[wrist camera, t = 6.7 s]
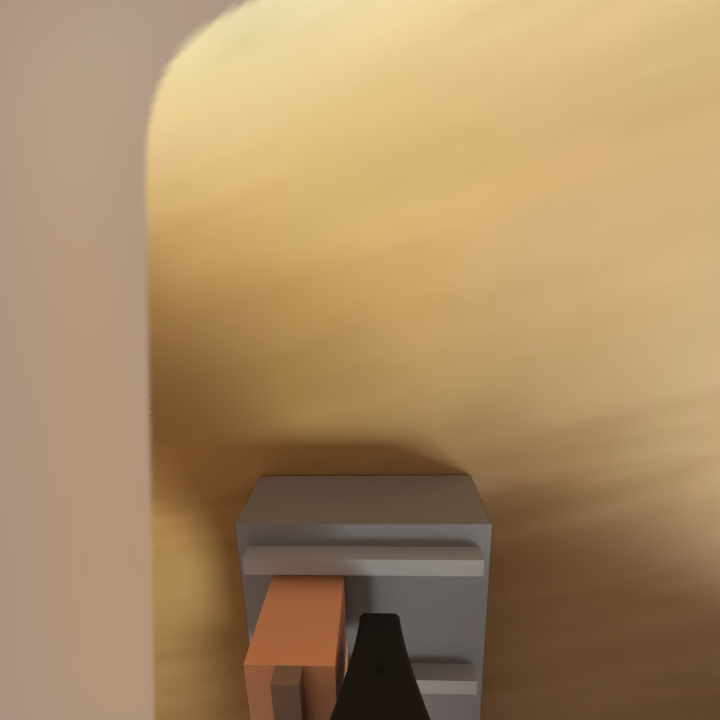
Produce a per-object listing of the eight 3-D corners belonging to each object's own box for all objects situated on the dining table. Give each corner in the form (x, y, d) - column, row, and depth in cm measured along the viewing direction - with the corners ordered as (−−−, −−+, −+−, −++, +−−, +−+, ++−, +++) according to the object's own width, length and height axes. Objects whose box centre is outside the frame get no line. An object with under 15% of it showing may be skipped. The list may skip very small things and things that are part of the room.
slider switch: (343, 575, 11) (332, 686, 8) (347, 660, 12) (339, 788, 9) (272, 575, 11) (236, 683, 8) (281, 659, 12) (250, 785, 9)
